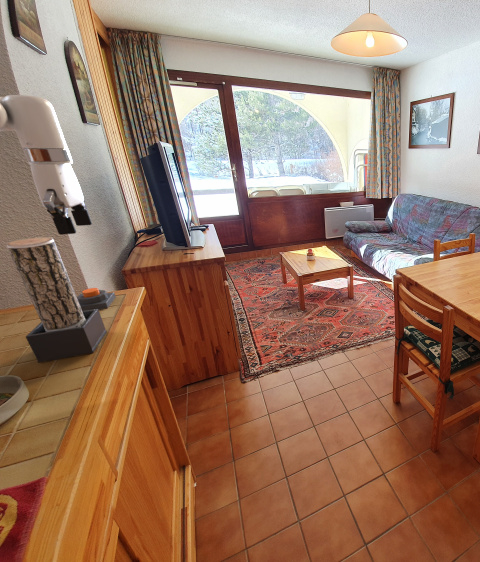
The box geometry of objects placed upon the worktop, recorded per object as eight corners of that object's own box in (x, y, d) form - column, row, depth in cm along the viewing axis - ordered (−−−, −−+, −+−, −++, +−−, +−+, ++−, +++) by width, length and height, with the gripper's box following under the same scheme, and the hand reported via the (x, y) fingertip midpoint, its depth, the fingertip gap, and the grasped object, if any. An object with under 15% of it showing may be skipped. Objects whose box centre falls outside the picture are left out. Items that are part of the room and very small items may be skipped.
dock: (38, 363, 68) (25, 336, 65) (58, 340, 76) (47, 315, 73) (93, 352, 71) (83, 327, 69) (106, 332, 79) (98, 308, 77)
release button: (82, 299, 89) (79, 293, 89) (86, 294, 92) (84, 288, 92) (97, 297, 91) (95, 291, 90) (101, 292, 94) (99, 287, 93)
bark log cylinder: (52, 355, 69) (2, 247, 59) (55, 342, 74) (9, 240, 64) (92, 344, 73) (51, 242, 63) (93, 332, 78) (54, 235, 68)
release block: (73, 313, 88) (68, 302, 87) (83, 301, 95) (79, 291, 93) (107, 308, 91) (104, 297, 90) (115, 297, 98) (112, 287, 96)
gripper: (47, 156, 78) (72, 223, 85) (4, 158, 63) (39, 239, 70) (84, 156, 81) (106, 221, 87) (51, 158, 66) (81, 236, 73)
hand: (76, 229), depth 79 cm, fingers open, 9 cm apart
